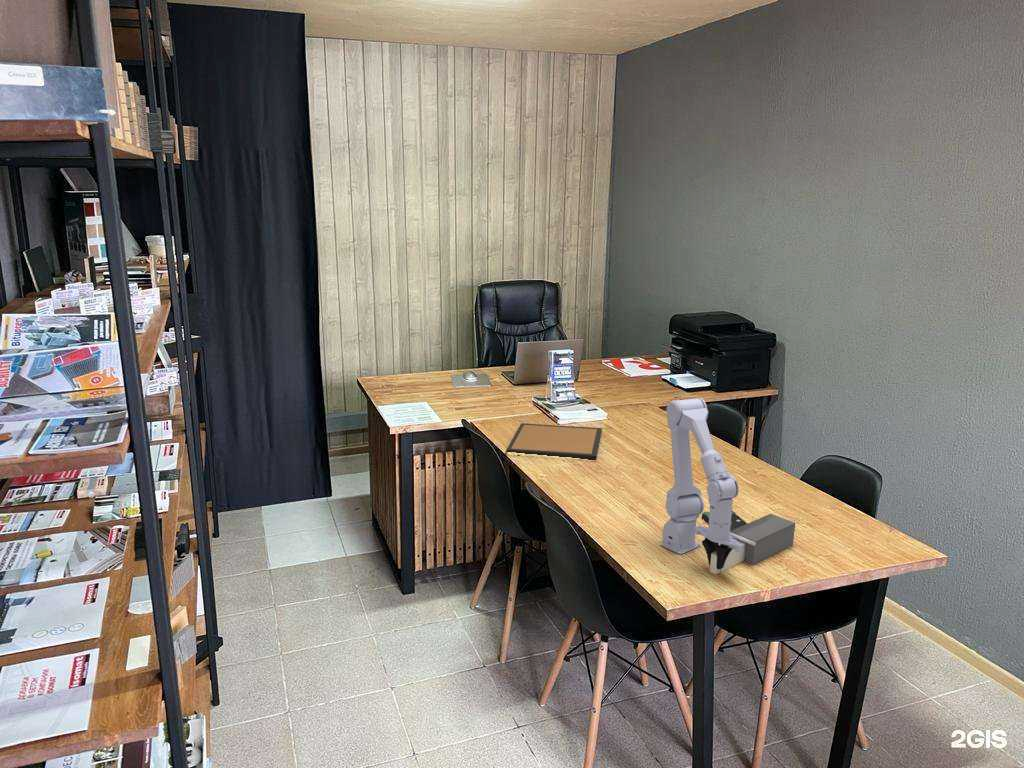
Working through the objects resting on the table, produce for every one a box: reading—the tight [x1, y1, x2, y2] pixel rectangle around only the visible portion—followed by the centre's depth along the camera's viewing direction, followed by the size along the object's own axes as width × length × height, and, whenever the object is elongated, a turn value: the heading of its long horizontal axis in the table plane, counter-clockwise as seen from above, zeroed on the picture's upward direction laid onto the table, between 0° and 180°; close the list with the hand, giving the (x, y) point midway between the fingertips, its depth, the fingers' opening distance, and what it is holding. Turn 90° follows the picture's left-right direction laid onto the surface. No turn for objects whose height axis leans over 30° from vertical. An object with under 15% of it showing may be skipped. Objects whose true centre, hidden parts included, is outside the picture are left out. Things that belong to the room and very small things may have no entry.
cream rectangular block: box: [709, 540, 747, 575], centre depth 209 cm, size 16×2×6 cm, turn 128°
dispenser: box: [730, 513, 796, 566], centre depth 217 cm, size 21×9×7 cm, turn 128°
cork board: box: [505, 422, 603, 461], centre depth 308 cm, size 36×3×35 cm
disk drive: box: [701, 510, 748, 531], centre depth 233 cm, size 10×3×15 cm
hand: (716, 566), depth 205 cm, fingers closed on cream rectangular block, 2 cm apart
